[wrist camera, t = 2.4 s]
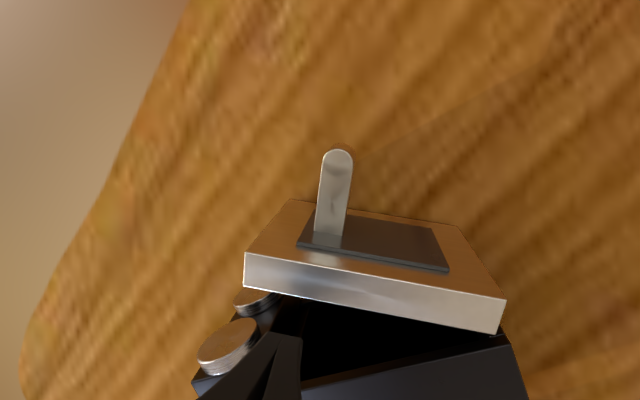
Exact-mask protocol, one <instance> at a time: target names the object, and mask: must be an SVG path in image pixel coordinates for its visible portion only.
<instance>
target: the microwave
mask: <svg viewBox="0 0 640 400" xmlns="http://www.w3.org/2000/svg"><path fill="white" fill-rule="evenodd" d="M233 305H234V307H235V309H236V313H235V315H234V316H233V318H232V319H231V321H230V322H229V323H228V324H226V325H224V326H222V327H221V328H219V329H218V330H216V331H215V332H214V333H213V334H211V335H210V336H209V337H208V338H207V339H206V340H205V341H204V342H203V344H202V345H201V346H200V348H199V350H198V352H197V360H198V362H199V364H200V366H201V367H200V369H199V370H198V372H197V373H196V375H195V376H194V378H193V379H192V381H191V384H192V386H193V387H194V389H195V391H196V393H197V394H198V396H199V397H200V396H201V395H202V394H204V393H205V392H206V391H207V390H208V389H210V388H211V387H212V386H213V385H214V384H215V383H217V382H218V381H219V380H220V379H221V378H222V377H223V376H224V375H226V374H227V373H228V372H229V371H230V370H231V369H232V368H233V367H234V366H235V365H236V364H237V363H238V362H239V361H240V360H241V359H242V358H243V357H244V356H245V355H246V354H247V353H248V352H249V351H250V350H251V349H252V348H253V347H254V346H255V344H256V343H257V342H258V341H259V340H260V339H261V338H262V336H263V335H264V334H265V333H266V332H268V331H270V332H274V333H279V334H284V335H289V336H294V337H299V338H301V339H302V340H303V348H302V356H301V363H300V382H301V395H302V400H529V397H528V394H527V391H526V388H525V385H524V382H523V379H522V376H521V373H520V370H519V367H518V364H517V361H516V358H515V355H514V352H513V349H512V346H511V344H510V342H509V340H508V338H507V337H506V335H505V333H504V331H503V329H502V328H501V326H500V324H499V326H498V329H497V332H496V335H492V334H486V333H481V332H476V331H471V330H466V329H461V328H456V327H450V326H445V325H440V324H435V323H430V322H425V321H420V320H414V319H409V318H404V317H399V316H394V315H389V314H384V313H379V312H373V311H368V310H363V309H358V308H353V307H348V306H343V305H337V304H332V303H327V302H322V301H317V300H312V299H307V298H306V299H302V300H301V299H300V297H296V296H291V295H286V294H281V293H276V292H271V291H266V290H260V289H255V288H250V287H245V288H244V289H242V290H241V291H240V292H239V293H238V294H237V295H236V296H235V298H234V300H233Z"/></svg>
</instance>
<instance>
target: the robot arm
mask: <svg viewBox="0 0 640 400" xmlns="http://www.w3.org/2000/svg"><path fill="white" fill-rule="evenodd" d="M302 348H303V340H302V339H301V338H299V337H294V336H289V335H284V334H279V333H274V332H270V331H268V332H266V333H265V334H264V335H263V336H262V338H261V339H260V340H259V341H258V342H257V343H256V344H255V346H254V347H253V348H252V349H251V350H250V351H249V352H248V353H247V354H246V355H245V356H244V357H243V358H242V359H241V360H240V361H239V362H238V363H237V364H236V365H235V366H234V367H233V368H232V369H231V370H230V371H229V372H228V373H227V374H226V375H224V376H223V377H222V378H221V379H220V380H219V381H218V382H217V383H215V384H214V385H213V386H212V387H211V388H210V389H208V390H207V391H206V392H205V393H204V394H202V395H201V396H200V397H199V398H197V399H196V400H302V395H301V382H300V363H301V356H302Z"/></svg>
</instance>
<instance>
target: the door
mask: <svg viewBox="0 0 640 400" xmlns="http://www.w3.org/2000/svg"><path fill="white" fill-rule="evenodd" d="M355 159H356V155H355V152H354V150H353V148H352V147H351V146H349V145H348V144H345V143H337V144H335V145H333V146H332V147H331V148H330V149H329V150H328V151H327V152H326V154H325V155H324V157H323V160H322V166H321V174H320V182H319V190H318V198H317V203H311V202H305V201H299V200H293V199H289V200H288V202H287V203H286V204H285V205H284V206H283V208H282V209H281V210H280V211H279V212H278V213H277V215H276V216H275V217H274V218H273V219H272V221H271V222H270V223H269V224H268V225H267V226H266V228H265V229H264V230H263V231H262V232H261V234H260V235H259V236H258V237H257V238H256V239H255V241H254V242H253V243H252V244H251V245H250V247H249V248H248V249H247V250H246V251H245V256H244V272H243V286H245V287H250V288H255V289H260V290H266V291H271V292H276V293H281V294H286V295H291V296H296V297H302V298H307V299H312V300H317V301H322V302H327V303H332V304H337V305H343V306H348V307H353V308H358V309H363V310H368V311H373V312H379V313H384V314H389V315H394V316H399V317H404V318H409V319H414V320H420V321H425V322H430V323H435V324H440V325H445V326H450V327H456V328H461V329H466V330H471V331H476V332H481V333H486V334H492V335H496V332H497V329H498V326H499V323H500V320H501V317H502V314H503V311H504V308H505V305H506V302H507V299H506V298H505V296H504V295H503V293H502V292H501V290H500V289H499V287H498V286H497V284H496V283H495V281H494V280H493V279H492V277H491V276H490V274H489V273H488V271H487V270H486V268H485V267H484V265H483V264H482V262H481V261H480V259H479V258H478V256H477V255H476V253H475V252H474V251H473V249H472V248H471V246H470V245H469V243H468V242H467V240H466V239H465V237H464V236H463V234H462V233H461V231H460V230H459V228H458V227H457V226H452V225H446V224H440V223H434V222H427V221H421V220H415V219H409V218H403V217H397V216H391V215H385V214H378V213H372V212H366V211H360V210H354V209H348V204H349V198H350V191H351V185H352V179H353V172H354V166H355Z"/></svg>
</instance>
